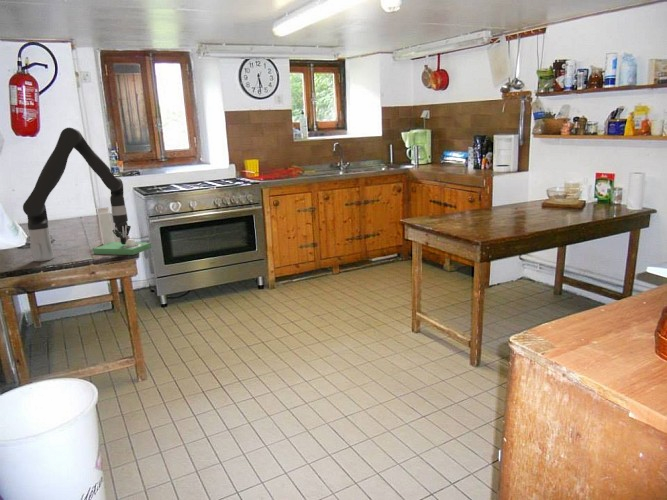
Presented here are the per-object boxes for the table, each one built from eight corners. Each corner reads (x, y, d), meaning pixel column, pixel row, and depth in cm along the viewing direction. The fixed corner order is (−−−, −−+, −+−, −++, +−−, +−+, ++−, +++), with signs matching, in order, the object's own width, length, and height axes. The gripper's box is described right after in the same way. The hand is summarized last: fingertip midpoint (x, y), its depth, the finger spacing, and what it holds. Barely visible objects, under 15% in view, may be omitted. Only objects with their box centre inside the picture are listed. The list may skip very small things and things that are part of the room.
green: (133, 254, 267) (132, 249, 267) (93, 253, 275) (92, 248, 274) (151, 247, 282) (150, 242, 282) (113, 247, 289) (112, 242, 289)
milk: (102, 243, 300) (96, 208, 295) (113, 242, 304) (107, 206, 299) (104, 245, 296) (98, 208, 290) (115, 243, 299) (109, 207, 294)
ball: (127, 237, 272) (122, 243, 274) (133, 244, 272) (128, 250, 274) (132, 236, 277) (127, 241, 279) (138, 242, 277) (133, 248, 279)
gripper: (117, 215, 266) (121, 247, 270) (132, 211, 278) (137, 241, 282) (105, 215, 268) (110, 246, 272) (121, 211, 280) (126, 241, 284)
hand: (124, 244), depth 277 cm, fingers closed
